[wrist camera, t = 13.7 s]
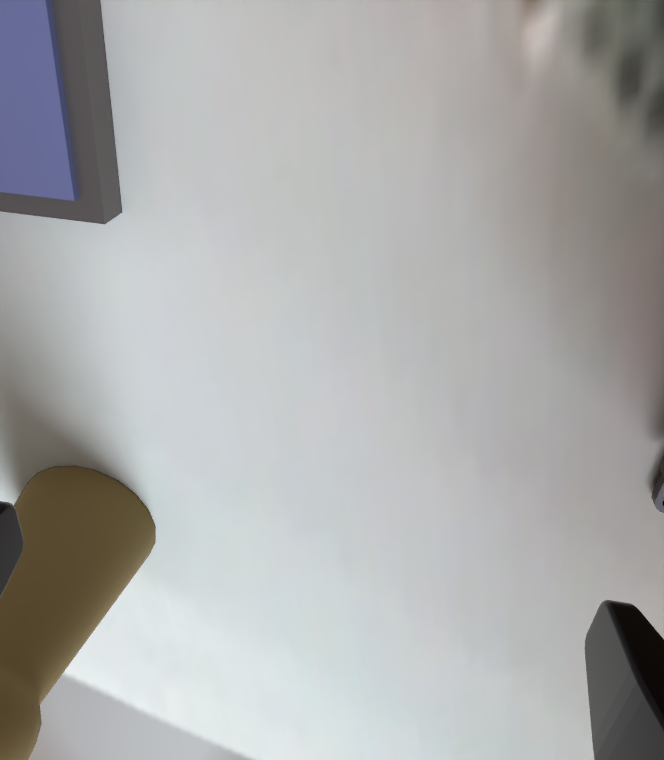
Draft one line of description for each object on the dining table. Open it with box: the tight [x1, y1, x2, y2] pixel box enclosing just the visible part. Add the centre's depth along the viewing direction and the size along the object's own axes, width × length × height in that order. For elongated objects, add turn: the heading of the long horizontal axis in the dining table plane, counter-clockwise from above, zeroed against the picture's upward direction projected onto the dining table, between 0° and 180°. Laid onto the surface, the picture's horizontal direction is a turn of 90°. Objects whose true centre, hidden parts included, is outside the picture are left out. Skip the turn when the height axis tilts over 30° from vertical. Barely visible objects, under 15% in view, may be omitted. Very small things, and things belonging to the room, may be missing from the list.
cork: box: [0, 466, 155, 760], centre depth 23 cm, size 6×6×11 cm
